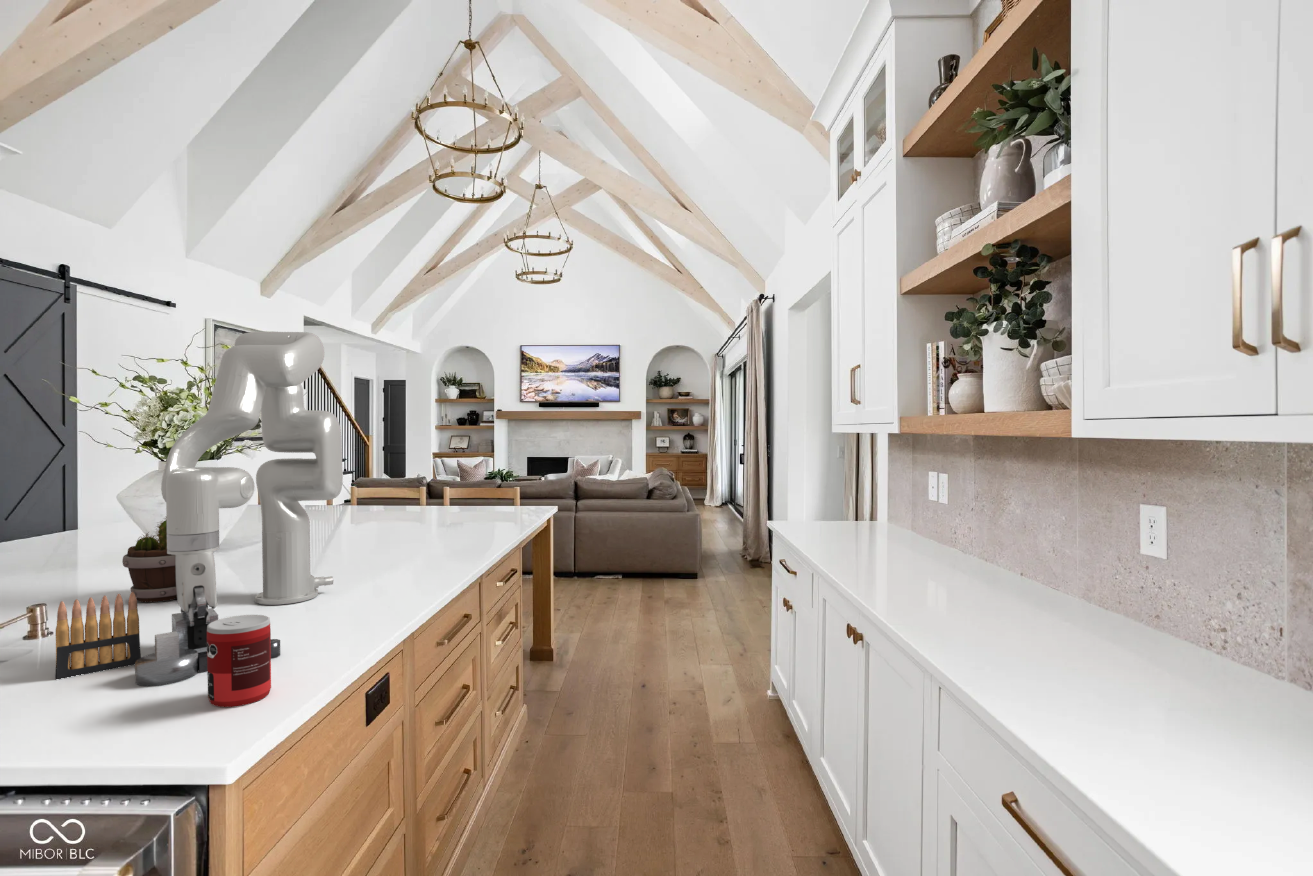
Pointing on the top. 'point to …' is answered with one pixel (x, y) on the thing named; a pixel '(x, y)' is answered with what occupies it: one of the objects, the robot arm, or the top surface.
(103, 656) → the ammunition clip
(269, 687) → the canned food
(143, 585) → the flowerpot
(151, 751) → the top surface
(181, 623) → the socket
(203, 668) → the ratchet
